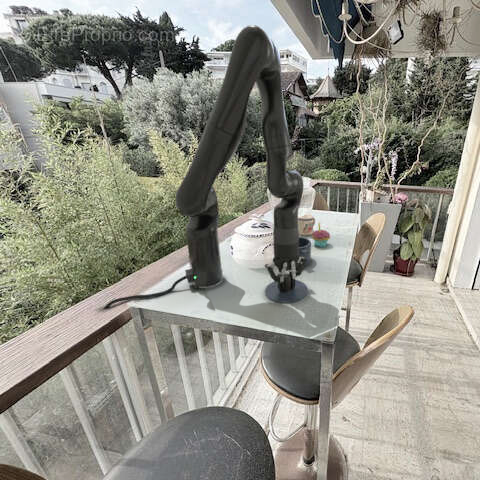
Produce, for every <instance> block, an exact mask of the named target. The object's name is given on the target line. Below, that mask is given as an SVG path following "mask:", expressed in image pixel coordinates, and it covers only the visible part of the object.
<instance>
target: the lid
mask: <svg viewBox="0 0 480 480" xmlns="http://www.w3.org/2000/svg"><path fill="white" fill-rule="evenodd" d="M308 291H309V288H308V285H306V283H305V282H303V281H301V280H298V279H295V287H294V289H291V275H290V274H289V273H285V276H284V292H281V291H280V290H279V289H278V282H275V281H274V280H273V282H270V283H269V284H268V285H267V286H266V287H265V290H264V293H265V296H266V298H267V299H269V300H270V301H272V302H275V303H278V304H292V303H296V302H300V301H301V300H303V299H305V298H306V296H307V295H308Z"/></svg>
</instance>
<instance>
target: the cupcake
mask: <svg viewBox="0 0 480 480" xmlns="http://www.w3.org/2000/svg"><path fill="white" fill-rule="evenodd" d="M311 239H312V240H313V241H314V244H315V246H316V247H319V248H324V247H326V246H327V243H328V241H329V240H330V239H331V234H330V233H329V232H328V231H327V230H325V229H321V223H320V222H318V229H317V230H315V231H313V233H312V234H311Z"/></svg>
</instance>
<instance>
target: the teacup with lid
mask: <svg viewBox="0 0 480 480" xmlns="http://www.w3.org/2000/svg"><path fill="white" fill-rule="evenodd" d="M315 224H316V218H315V217H314V215H313V214H310V213H308V214H306V215H304V216H302V217H299V218H298V230H299V236H302V237H304V236H305V237H306V236H312V233H313V232H314V226H315Z"/></svg>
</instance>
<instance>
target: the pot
mask: <svg viewBox="0 0 480 480" xmlns="http://www.w3.org/2000/svg"><path fill="white" fill-rule="evenodd" d="M298 255H299V257H301V256H303V257H304V258H305V259H306V260H307V261H306V263H305V266H307V265H309V264H311V260H312V257H311V256H312V241H311V239H309V238H307V237H304V236H299V253H298ZM297 263H298V262H297ZM297 263H296V265H297ZM296 265H295V268H296ZM305 266H304V267H305Z"/></svg>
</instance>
